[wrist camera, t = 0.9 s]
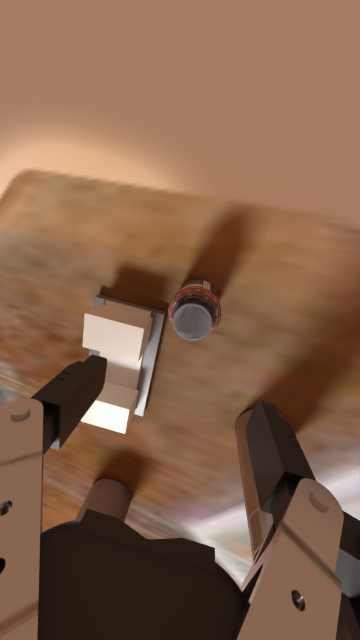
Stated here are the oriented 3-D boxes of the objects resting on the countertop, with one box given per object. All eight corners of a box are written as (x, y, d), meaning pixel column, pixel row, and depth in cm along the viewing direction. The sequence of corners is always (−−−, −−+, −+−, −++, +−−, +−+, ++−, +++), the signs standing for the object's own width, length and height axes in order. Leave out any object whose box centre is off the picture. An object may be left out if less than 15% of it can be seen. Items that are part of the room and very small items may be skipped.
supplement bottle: (217, 317, 32) (221, 352, 21) (178, 316, 33) (163, 350, 22) (218, 277, 30) (223, 294, 19) (177, 277, 31) (160, 294, 20)
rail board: (145, 410, 40) (133, 440, 34) (89, 394, 40) (68, 420, 34) (166, 311, 33) (156, 326, 27) (99, 294, 33) (74, 304, 27)
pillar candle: (135, 507, 50) (106, 610, 36) (98, 506, 51) (56, 604, 37) (125, 477, 47) (89, 575, 33) (86, 477, 49) (35, 570, 34)
